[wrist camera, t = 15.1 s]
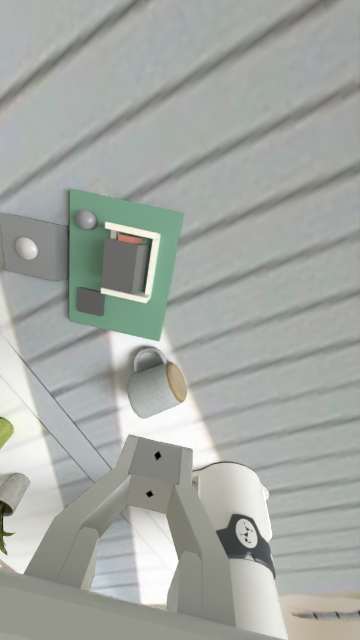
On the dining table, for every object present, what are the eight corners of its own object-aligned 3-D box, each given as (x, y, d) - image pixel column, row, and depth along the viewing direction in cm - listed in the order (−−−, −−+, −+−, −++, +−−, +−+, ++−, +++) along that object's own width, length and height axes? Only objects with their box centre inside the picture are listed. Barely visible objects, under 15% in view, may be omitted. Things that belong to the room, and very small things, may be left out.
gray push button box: (67, 278, 33) (53, 282, 30) (21, 268, 34) (1, 270, 30) (67, 226, 31) (51, 224, 27) (17, 215, 31) (-6, 211, 27)
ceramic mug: (190, 383, 39) (187, 414, 31) (153, 397, 40) (143, 429, 33) (163, 337, 36) (154, 359, 29) (126, 354, 38) (108, 379, 31)
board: (160, 338, 36) (155, 349, 32) (73, 318, 36) (57, 327, 32) (183, 214, 29) (181, 209, 25) (74, 190, 29) (55, 181, 25)
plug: (143, 285, 31) (131, 294, 26) (119, 279, 32) (101, 287, 26) (150, 240, 29) (138, 238, 23) (123, 234, 29) (105, 231, 24)
